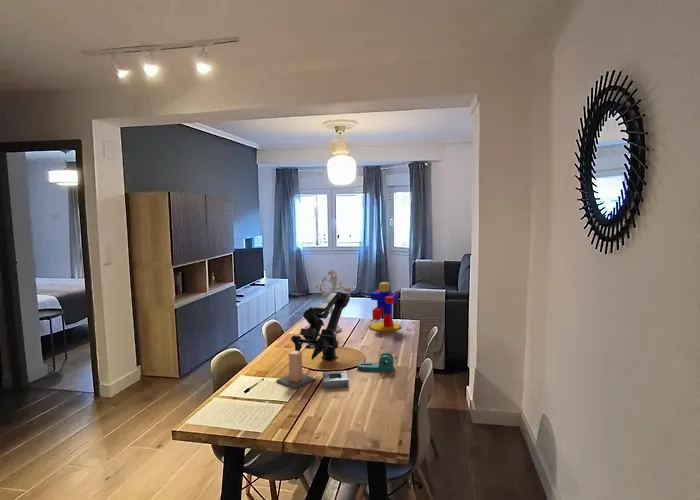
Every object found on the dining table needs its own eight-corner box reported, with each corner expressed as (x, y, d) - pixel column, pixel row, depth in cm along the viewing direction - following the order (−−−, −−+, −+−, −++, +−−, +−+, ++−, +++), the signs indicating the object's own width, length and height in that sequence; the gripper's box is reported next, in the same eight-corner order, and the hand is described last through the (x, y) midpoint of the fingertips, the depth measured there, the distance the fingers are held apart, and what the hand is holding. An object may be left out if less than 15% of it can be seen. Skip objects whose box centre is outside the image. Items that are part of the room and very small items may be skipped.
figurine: (405, 324, 294) (404, 280, 291) (395, 333, 274) (394, 286, 271) (375, 321, 303) (374, 279, 299) (363, 330, 283) (362, 284, 280)
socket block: (322, 379, 205) (322, 372, 204) (345, 377, 206) (345, 370, 206) (324, 389, 194) (324, 381, 193) (348, 387, 195) (348, 379, 195)
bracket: (393, 367, 218) (393, 352, 217) (392, 372, 212) (392, 356, 211) (357, 366, 221) (357, 351, 220) (356, 371, 214) (355, 355, 214)
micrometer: (315, 349, 248) (315, 345, 248) (304, 348, 250) (303, 344, 250) (324, 341, 263) (324, 337, 263) (313, 340, 265) (313, 336, 265)
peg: (294, 376, 206) (293, 350, 204) (302, 378, 204) (301, 351, 203) (289, 380, 202) (288, 353, 200) (297, 381, 200) (296, 354, 199)
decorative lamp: (352, 337, 267) (351, 273, 263) (314, 338, 268) (312, 274, 264) (352, 325, 295) (351, 266, 291) (318, 325, 295) (316, 267, 291)
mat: (298, 373, 212) (297, 371, 212) (315, 380, 203) (315, 378, 203) (276, 381, 203) (276, 379, 203) (294, 389, 194) (293, 387, 194)
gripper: (292, 319, 215) (280, 347, 207) (324, 323, 207) (314, 352, 199) (301, 330, 223) (290, 358, 215) (333, 334, 215) (323, 363, 207)
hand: (303, 358), depth 209 cm, fingers open, 9 cm apart
